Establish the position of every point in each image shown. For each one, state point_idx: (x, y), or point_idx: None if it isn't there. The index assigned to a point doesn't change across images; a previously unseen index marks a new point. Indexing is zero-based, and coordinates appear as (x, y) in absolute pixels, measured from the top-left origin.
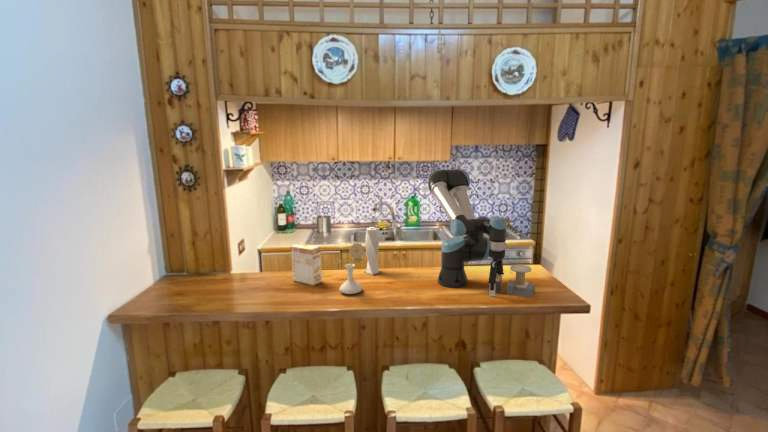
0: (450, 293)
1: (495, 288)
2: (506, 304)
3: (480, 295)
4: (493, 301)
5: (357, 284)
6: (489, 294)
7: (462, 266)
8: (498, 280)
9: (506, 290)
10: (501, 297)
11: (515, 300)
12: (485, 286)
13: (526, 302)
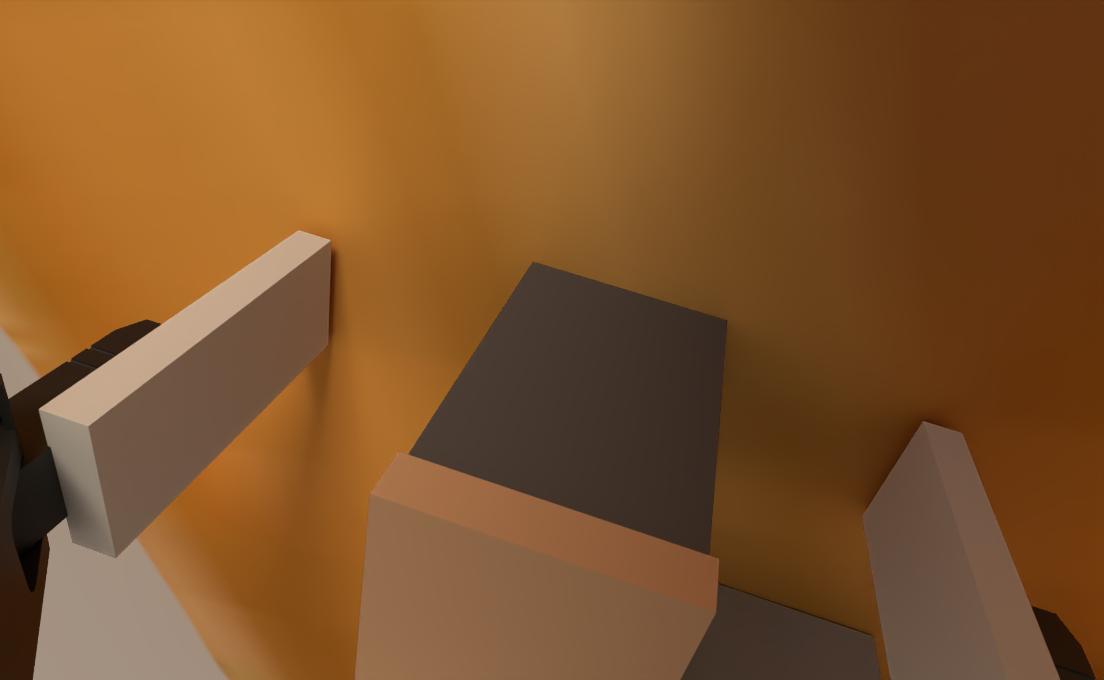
0: None
1: (212, 451)
2: None
3: (270, 19)
4: (111, 289)
5: None
6: (279, 249)
7: None
8: (358, 666)
9: None
10: (347, 435)
11: (317, 587)
12: (1006, 155)
13: (310, 676)
